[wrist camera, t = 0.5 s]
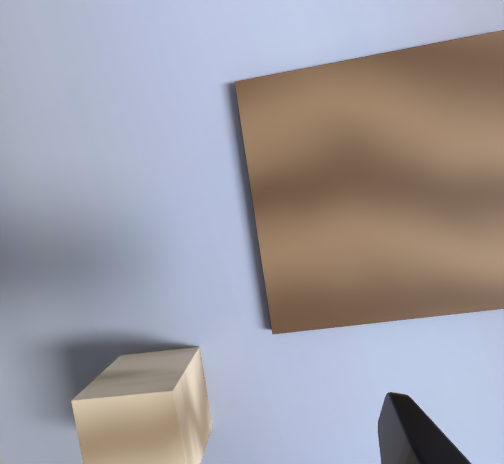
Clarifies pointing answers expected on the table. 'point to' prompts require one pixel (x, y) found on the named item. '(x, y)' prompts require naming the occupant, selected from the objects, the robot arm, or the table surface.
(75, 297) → the table surface
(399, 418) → the robot arm
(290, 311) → the walnut board
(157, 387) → the maple cube
